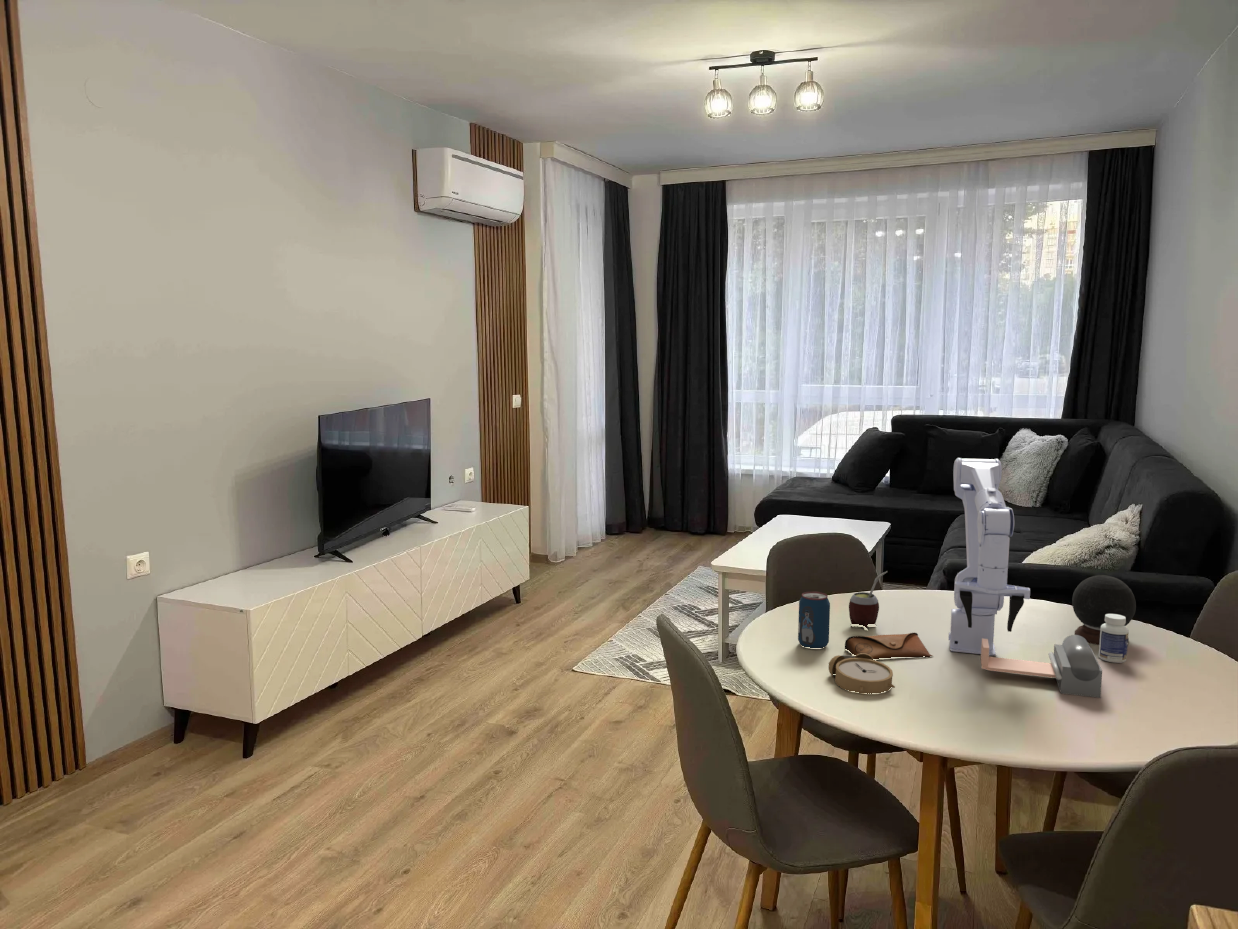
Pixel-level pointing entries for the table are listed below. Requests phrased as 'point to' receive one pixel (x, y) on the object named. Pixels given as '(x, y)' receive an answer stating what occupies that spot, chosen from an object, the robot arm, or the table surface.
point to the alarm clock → (861, 673)
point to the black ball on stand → (1101, 604)
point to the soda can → (814, 620)
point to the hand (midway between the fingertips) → (989, 628)
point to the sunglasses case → (887, 646)
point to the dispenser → (1076, 667)
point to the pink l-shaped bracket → (1014, 664)
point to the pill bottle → (1113, 639)
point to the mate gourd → (864, 606)
